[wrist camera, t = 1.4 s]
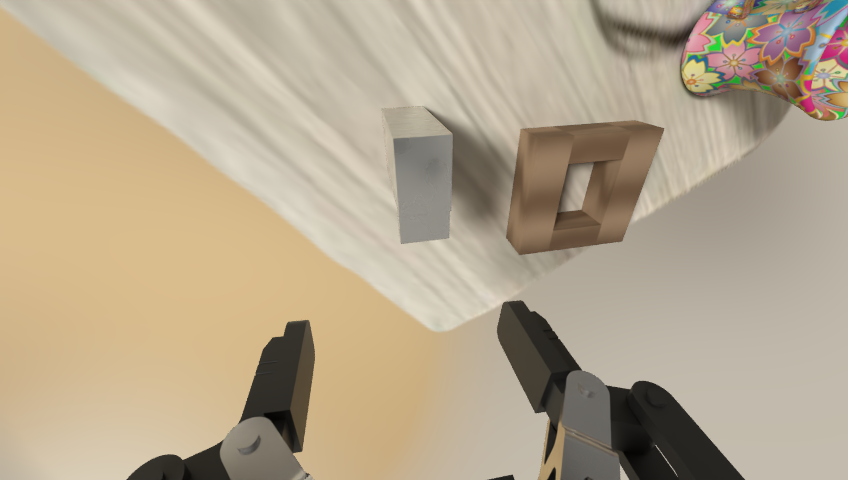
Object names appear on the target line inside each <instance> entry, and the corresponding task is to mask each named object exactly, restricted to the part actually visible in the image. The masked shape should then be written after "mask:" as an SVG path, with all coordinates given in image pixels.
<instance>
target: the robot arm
mask: <svg viewBox="0 0 848 480" xmlns="http://www.w3.org/2000/svg"><path fill="white" fill-rule="evenodd" d="M497 333H498V339H499V341H500V344H501V346H502V348H503V349H504V351H505V353H506V356H507V358H508V360H509V362H510V363H511V365H512V368H513V370H514V372H515V374H516V376H517V378H518V380H519V382H520V384H521V385H522V387H523V390H524V391H525V393H526V395H527V397H528V399H529V401H530V403H531V405H532V407H533V409H534V411H535V413H541V412H546V413H547V415H548V416H549V420H548V423H547V430H546V437H545V443H544V450H543V457H542V464H541V469H540V474H539V477H538V480H620V464H621V466H622V468H623V470H624V471H625V473H626V474H627V476H628V478H629V480H745V479H744V478H743V477H742V476H741V475H740V473H739V472H738V471H737V470H736V469H735V468H734V467H733V465H732V464H731V463H730V462H729V461H728V460H727V458H726V457H725V456H724V455H723V454H722V453H721V452H720V450H718V448H717V447H716V446H715V445H714V444H713V442H712V441H711V440H710V439H709V438H708V437H707V436H706V434H705V433H704V432H703V431H702V430H701V429H700V428H699V426H698V425H697V424H696V423H695V422H694V420H693V419H692V418H691V417H690V416H689V415H688V414H687V413H686V411H685V410H684V409H683V408H682V407H681V406H680V404H679V403H678V402H677V401H676V400H675V399H674V397H672V395H671V394H670V393H668V392H667V391H666V390H665V389H663V388H662V387H660V386H658V385H656V384H654V383H651V382H648V381H638V382H636V383H634V385H633V386H632V388H631V389H624V388H618V387H612V386H607V385H605V384H604V383H603V382H602V381H601V380H600V379H599V378H598V377H596V376H595V375H593V374H591V373H589V372H586V371H582V369H581V368H580V367H579V365H578V364H577V363H576V361H575V360H574V358H573V357H572V356H571V355H570V353H569V352H568V350H567V349H566V347H565V346H564V345H563V343H562V342H561V341H560V339H558V336H557V335H556V334H555V332H554V331H552V328H551V327H550V325H549V324H548V322H547V321H546V320H545V319H544V318H543V317H542V316H540V315H539V314H538V313H536V312H535V311H533V312H530V311H529V309H528V308H527V306H526V305H525V304H524V302H523V301H521V300H520V301H510V302H504V303H503V305H502V309H501V314H500V318H499V322H498V327H497ZM314 361H315V351H314V344H313V338H312V333H311V327H310V322H309V320H303V321H292V322H288V323H287V325H286V329H285V332H284V336H283V337H274V338H272V339H271V341H270V342H269V343H268V344H267V345H266V347H265V348H264V349H263V351H262V355H261V358H260V361H259V365H258V367H257V370H256V376H254V380H253V383H252V386H251V389H250V392H249V395H248V398H247V401H246V405H245V408H244V411H243V414H242V417H241V420H240V421H239V423H238V425H236V426H235V427H234V428H233V429H232V430H231V431H230V432H229V433H228V435H227V436H226V438H225V439H224V440H223V441H221V442H220V443H218V444H217V445H215V446H213V447H211V448H209V449H207V450H204V451H202V452H200V453H198V454H195V455H193V456H191V457H189V458H187V459H184V460H182V459H181V458H180V457H178V456H177V455H169V454H168V455H162V456H159V457H156V458H154V459H152V460H150V461H148V462H147V463H145V464H143V465H142V466H140V467H139V468H138V469H137V470H135V472H134V473H132V474H131V475H130V476H129V478H128V479H127V480H314V479H313V478H312V477H311V475H310V474H307V473H306V472H305V471H304V470H303V468H302V467H301V465H300V464H299V462H298V461H297V459H296V458H295V456H294V455H293V453H296V452H302V449H303V442H304V434H305V427H306V420H307V413H308V406H309V398H310V391H311V384H312V376H313V369H314ZM655 445H657V447H658V448H659V449H660V451H661V452H662V454H663V455H664V456H665V458H666V459H667V461H668V462H669V463H670V465H671V466H672V468H673V469H674V470H675V472H676V474H677V475H676V474H675V472H674V471H673V470H672V468H671V467H670V466H669V464H668V463H667V461H666V460H665V458H664V457H663V456H662V454H661V453H660V451H659V450H658V449H657V447H656V446H655ZM677 476H678V477H677ZM489 480H514V477H513V475H508V476H503V477H499V478H494V479H489Z"/></svg>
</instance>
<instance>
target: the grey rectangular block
mask: <svg viewBox="0 0 848 480" xmlns="http://www.w3.org/2000/svg"><path fill="white" fill-rule="evenodd" d="M382 118H383V128H384V139H385V150H386V160H387V168H388V172H389V176H390V181H391V185H392V189H393V193H394V197H395V201H396V205H397V213H398V225H399V237H400V242H401V244H405V243H413V242H421V241H429V240H438V239H446V238H449V220H450V211H451V197H452V151H453V134H452V133H451V132H450V131H449V130H448V129H447V128H446V127H445V126H443V125H442V124H441V123H440V122H439V121H438V120H437V119H436V118H435V117H434V116H433V115H432V114H431V113H430V112H428V111H427V110H426V109H425V108H424V107H423V106H417V107H401V108H384V109H382Z"/></svg>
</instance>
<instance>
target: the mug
mask: <svg viewBox="0 0 848 480" xmlns="http://www.w3.org/2000/svg"><path fill="white" fill-rule="evenodd" d="M681 72H682V78H683V81H684V83H685V85H686V87H687V88H688V89H689V90H690V91H691V92H693V93H694V94H697V95H700V96H711V95H716V94H719V93H722V92H726V91H731V90H752V91H758V92H763V93H767V94H771V95H774V96H777V97H779V98H782V99H784V100H786V101H788V102H790V103H792V104H794V105H795V106H797V107H799V108H800V109H801V110H803V111H804V112H805V113H807V114H808V115H809V116H811V117H813V118H815V119H818V120H825V121H829V120H837V119H842V118H845V117H848V0H716V1H715V2H714V3H713V4H712V5H711V6H710V7H709V8H708V9H707V10H706V11H705V13H704V14H703V15H702V16H701V18H700V19H699V21H698V22H697V23H696V25H695V27H694V28H693V30H692V32H691V34H690V36H689V38H688V40H687V43H686V46H685V49H684V52H683V56H682V64H681Z"/></svg>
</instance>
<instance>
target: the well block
mask: <svg viewBox="0 0 848 480" xmlns="http://www.w3.org/2000/svg"><path fill="white" fill-rule="evenodd" d="M663 131H664V128H661V127H657V126H654V125H650V124H646V123H643V122H639V121H622V122H608V123H595V124H581V125H568V126H555V127H541V128H528V129H521V132H520V140H519V147H518V154H517V162H516V169H515V177H514V184H513V191H512V199H511V206H510V213H509V221H508V228H507V236H506V238H507V239H508V241H509V242H510V243H511V245H512V246H513V247H514V248H515V250H516V251H517V252H518V254H519V255H523V254H530V253H538V252H545V251H553V250H560V249H568V248H575V247H583V246H590V245H598V244H604V243H613V242H620V241H622V240H623V237H624V235H625V232H626V229H627V227H628V224H629V221H630V219H631V216H632V213H633V211H634V208H635V205H636V203H637V200H638V197H639V195H640V192H641V189H642V187H643V184H644V181H645V179H646V176H647V174H648V171H649V168H650V166H651V163H652V160H653V158H654V155H655V152H656V150H657V147H658V144H659V142H660V139H661V136H662V134H663ZM585 162H595V163H594V166H593V170H592V174H591V177H590V181H589V185H588V188H587V192H586V196H585V199H584V203H583V206H582V210H577V211H569V212H560V213H557V211H558V206H559V202H560V198H561V193H562V189H563V185H564V180H565V176H566V171H567V167H568V164H574V163H585Z"/></svg>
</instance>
